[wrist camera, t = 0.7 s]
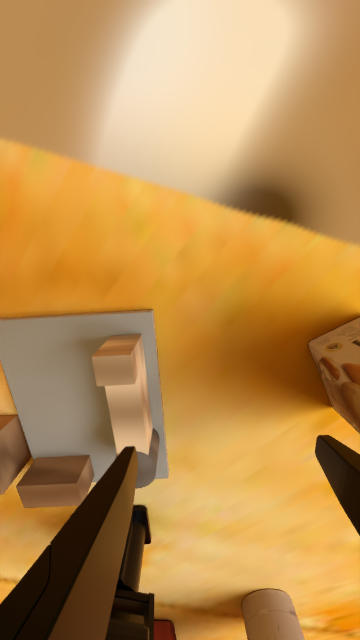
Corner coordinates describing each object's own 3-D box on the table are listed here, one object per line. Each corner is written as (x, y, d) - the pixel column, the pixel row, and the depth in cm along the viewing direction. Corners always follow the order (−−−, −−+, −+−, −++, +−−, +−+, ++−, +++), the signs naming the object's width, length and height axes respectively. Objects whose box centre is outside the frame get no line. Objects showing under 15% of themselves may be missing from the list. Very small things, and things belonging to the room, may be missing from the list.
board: (168, 469, 24) (168, 478, 23) (46, 475, 25) (41, 484, 24) (153, 309, 19) (151, 311, 18) (-4, 318, 19) (-13, 321, 18)
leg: (161, 452, 22) (156, 497, 18) (125, 454, 22) (112, 499, 18) (148, 333, 18) (138, 354, 14) (105, 335, 18) (83, 357, 14)
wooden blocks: (97, 466, 24) (82, 505, 20) (16, 470, 24) (-15, 509, 20) (85, 411, 22) (65, 442, 18) (-4, 416, 22) (-43, 447, 18)
